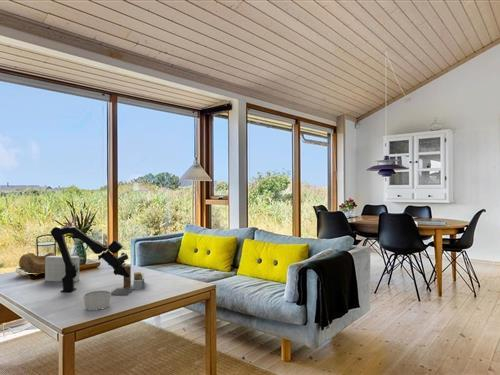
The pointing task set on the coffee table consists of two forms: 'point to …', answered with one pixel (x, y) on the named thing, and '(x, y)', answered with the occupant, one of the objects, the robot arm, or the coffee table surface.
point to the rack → (139, 282)
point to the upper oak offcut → (137, 276)
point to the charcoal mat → (121, 291)
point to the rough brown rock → (34, 262)
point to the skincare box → (58, 268)
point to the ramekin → (97, 299)
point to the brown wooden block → (127, 280)
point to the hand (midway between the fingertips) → (129, 275)
